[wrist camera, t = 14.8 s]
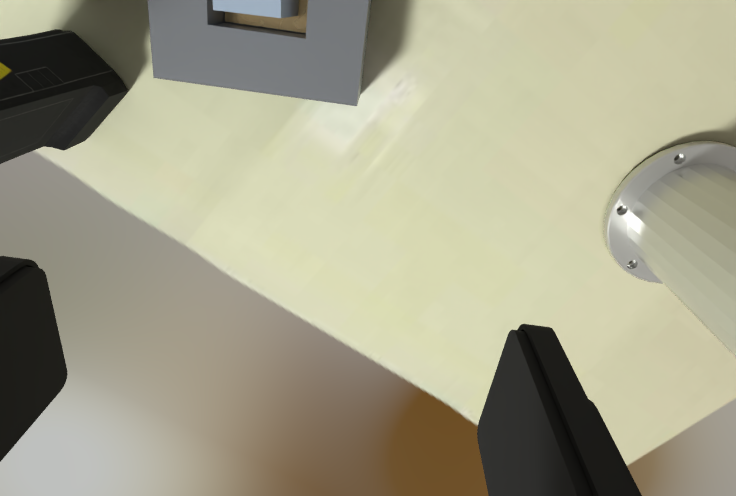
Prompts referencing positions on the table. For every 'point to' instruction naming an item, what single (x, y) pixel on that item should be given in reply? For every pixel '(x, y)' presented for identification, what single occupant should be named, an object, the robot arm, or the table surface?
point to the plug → (259, 7)
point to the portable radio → (52, 92)
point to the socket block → (263, 48)
